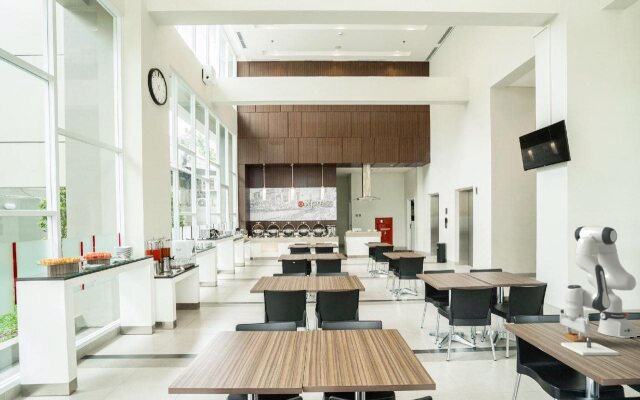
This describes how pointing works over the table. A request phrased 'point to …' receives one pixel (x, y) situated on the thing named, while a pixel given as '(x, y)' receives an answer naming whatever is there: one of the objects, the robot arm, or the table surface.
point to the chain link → (573, 337)
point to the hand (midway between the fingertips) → (574, 336)
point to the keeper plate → (589, 348)
